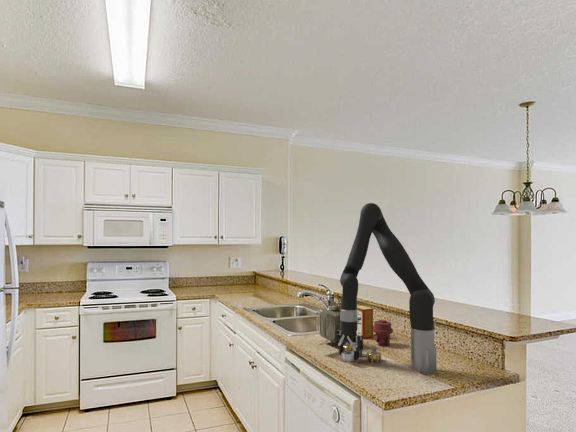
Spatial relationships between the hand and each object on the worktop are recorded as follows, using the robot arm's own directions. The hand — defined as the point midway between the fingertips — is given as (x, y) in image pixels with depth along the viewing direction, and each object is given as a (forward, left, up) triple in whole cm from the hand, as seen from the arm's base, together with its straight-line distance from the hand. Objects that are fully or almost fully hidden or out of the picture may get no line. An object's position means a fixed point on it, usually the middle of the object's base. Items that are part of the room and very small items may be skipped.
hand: (348, 356), depth 171 cm
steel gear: (0, 0, -1) cm, 1 cm away
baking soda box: (+24, -39, -3) cm, 46 cm away
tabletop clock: (+20, -12, -2) cm, 23 cm away
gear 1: (+7, -8, -1) cm, 11 cm away
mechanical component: (+7, -34, -2) cm, 35 cm away
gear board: (0, -4, -2) cm, 5 cm away
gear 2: (-8, -8, -1) cm, 11 cm away
